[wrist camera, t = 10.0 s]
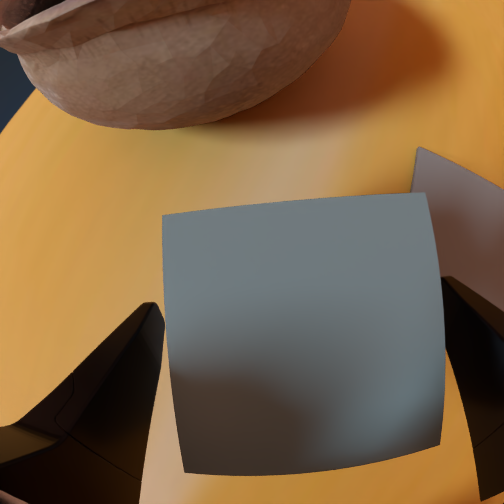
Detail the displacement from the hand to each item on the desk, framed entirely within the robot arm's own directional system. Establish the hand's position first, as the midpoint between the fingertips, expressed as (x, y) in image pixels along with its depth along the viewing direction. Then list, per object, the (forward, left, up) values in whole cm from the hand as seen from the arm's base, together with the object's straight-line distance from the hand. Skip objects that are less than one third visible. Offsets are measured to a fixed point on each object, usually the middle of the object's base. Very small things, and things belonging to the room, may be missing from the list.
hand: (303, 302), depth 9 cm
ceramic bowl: (+8, +18, -9) cm, 22 cm away
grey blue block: (-1, -1, -8) cm, 8 cm away
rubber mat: (+11, -7, -9) cm, 16 cm away
